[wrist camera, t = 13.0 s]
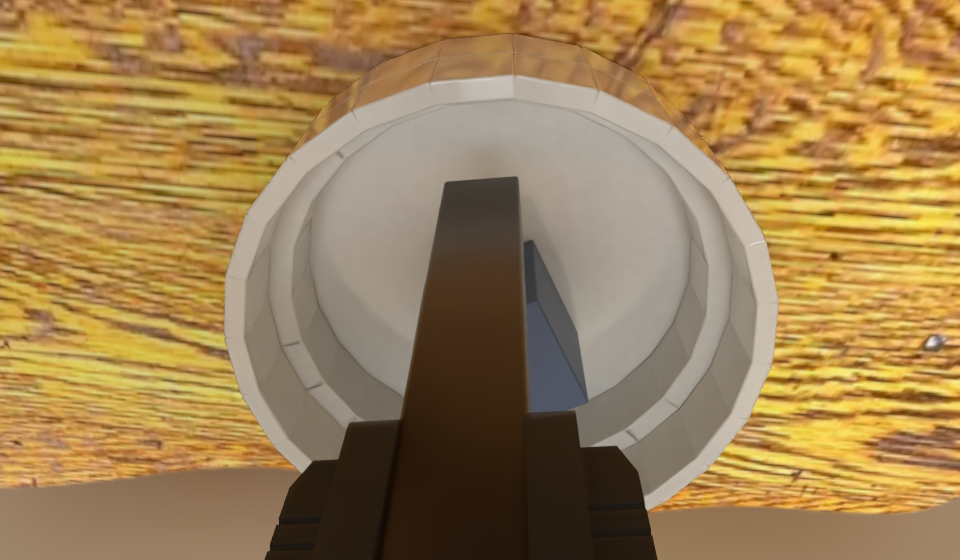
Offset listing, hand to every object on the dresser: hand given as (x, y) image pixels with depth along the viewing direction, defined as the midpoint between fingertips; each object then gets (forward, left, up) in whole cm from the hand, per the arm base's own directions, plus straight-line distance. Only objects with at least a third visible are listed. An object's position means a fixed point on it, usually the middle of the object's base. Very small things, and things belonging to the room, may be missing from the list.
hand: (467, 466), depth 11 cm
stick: (0, 0, -9) cm, 9 cm away
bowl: (0, -4, -15) cm, 16 cm away
